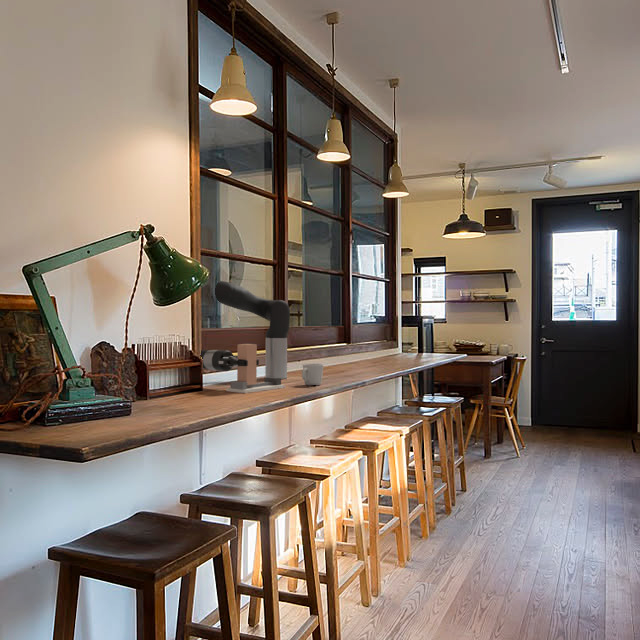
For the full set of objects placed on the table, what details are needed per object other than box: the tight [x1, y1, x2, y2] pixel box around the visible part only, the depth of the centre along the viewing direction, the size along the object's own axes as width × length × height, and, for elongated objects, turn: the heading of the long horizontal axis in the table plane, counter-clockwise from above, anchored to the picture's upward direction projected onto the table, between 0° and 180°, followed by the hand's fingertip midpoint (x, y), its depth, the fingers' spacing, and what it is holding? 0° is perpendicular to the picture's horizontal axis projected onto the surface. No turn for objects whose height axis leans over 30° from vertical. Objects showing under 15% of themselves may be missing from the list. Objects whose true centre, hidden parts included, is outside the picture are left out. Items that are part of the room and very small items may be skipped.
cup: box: [301, 363, 324, 386], centre depth 230 cm, size 11×8×8 cm
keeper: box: [236, 343, 258, 385], centre depth 212 cm, size 5×4×14 cm
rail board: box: [226, 376, 286, 394], centre depth 216 cm, size 21×9×4 cm, turn 143°
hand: (252, 362), depth 210 cm, fingers closed on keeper, 5 cm apart
